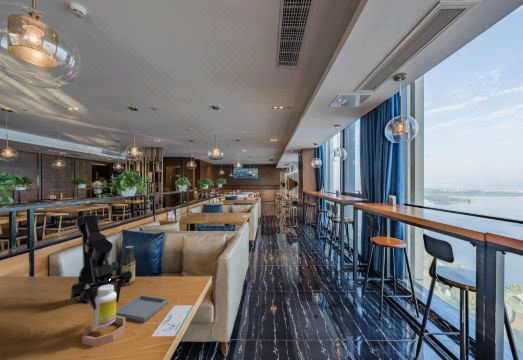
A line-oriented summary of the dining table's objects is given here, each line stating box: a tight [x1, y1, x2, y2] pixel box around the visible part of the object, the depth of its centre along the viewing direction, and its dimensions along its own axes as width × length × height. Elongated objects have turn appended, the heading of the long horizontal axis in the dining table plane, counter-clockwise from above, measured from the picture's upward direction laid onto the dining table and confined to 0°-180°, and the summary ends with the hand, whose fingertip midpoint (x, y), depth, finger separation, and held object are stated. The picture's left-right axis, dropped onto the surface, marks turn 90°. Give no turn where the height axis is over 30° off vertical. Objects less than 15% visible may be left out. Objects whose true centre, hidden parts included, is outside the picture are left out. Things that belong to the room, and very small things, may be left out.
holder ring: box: [81, 316, 127, 348], centre depth 82 cm, size 13×13×2 cm
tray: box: [116, 294, 169, 323], centre depth 97 cm, size 15×15×2 cm
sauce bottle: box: [121, 245, 136, 287], centre depth 122 cm, size 7×6×20 cm
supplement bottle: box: [93, 284, 117, 328], centre depth 82 cm, size 7×7×13 cm
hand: (106, 305), depth 81 cm, fingers closed on supplement bottle, 7 cm apart
